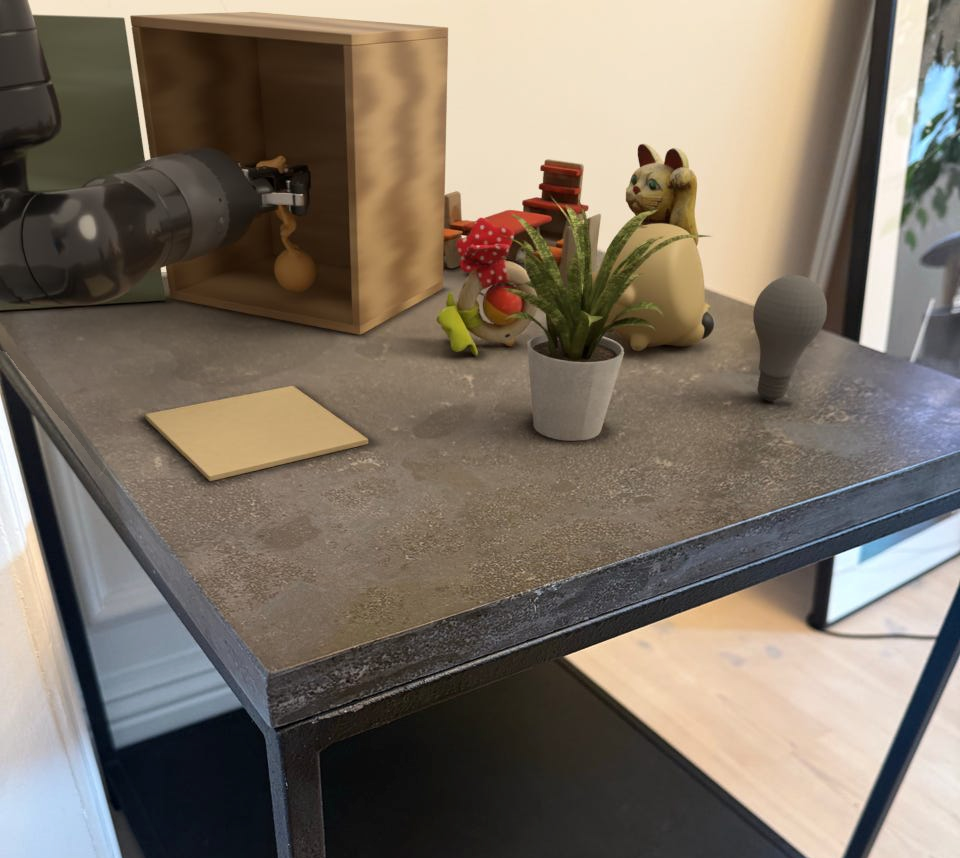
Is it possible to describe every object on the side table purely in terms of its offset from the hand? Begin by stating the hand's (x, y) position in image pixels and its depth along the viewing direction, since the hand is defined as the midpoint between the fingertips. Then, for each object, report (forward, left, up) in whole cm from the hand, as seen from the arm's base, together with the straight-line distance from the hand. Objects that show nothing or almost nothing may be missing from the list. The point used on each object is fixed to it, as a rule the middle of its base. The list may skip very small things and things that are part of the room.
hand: (286, 174), depth 89 cm
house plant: (+36, -16, -12) cm, 41 cm away
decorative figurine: (+32, +20, -12) cm, 40 cm away
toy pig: (+35, +6, -12) cm, 38 cm away
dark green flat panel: (-20, -12, -11) cm, 26 cm away
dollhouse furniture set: (+14, +27, -12) cm, 33 cm away
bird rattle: (+22, -3, -12) cm, 25 cm away
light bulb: (+48, -3, -12) cm, 50 cm away
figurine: (+1, -3, -10) cm, 10 cm away
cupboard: (0, +3, -12) cm, 12 cm away
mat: (+15, -29, -12) cm, 35 cm away
